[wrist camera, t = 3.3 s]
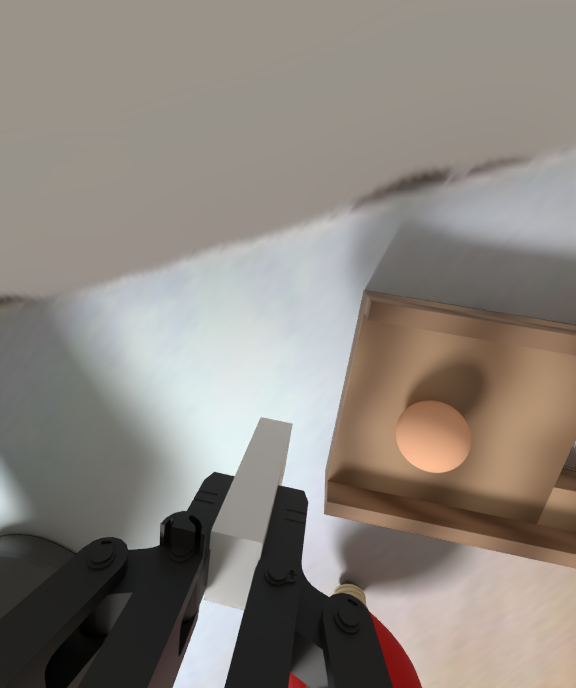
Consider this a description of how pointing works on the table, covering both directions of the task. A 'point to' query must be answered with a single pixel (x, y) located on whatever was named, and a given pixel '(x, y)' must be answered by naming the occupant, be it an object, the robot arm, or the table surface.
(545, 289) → the table surface
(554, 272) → the table surface
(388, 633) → the red heart-shaped lump
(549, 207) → the table surface
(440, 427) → the ball
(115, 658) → the robot arm
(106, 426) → the table surface
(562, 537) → the lane
